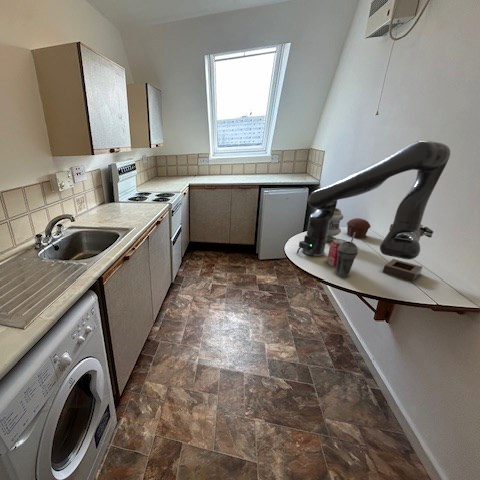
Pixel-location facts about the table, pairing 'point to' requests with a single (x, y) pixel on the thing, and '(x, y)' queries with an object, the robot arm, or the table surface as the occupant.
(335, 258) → the soda can
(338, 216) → the apothecary jar
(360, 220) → the muffin
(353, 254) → the beverage cup
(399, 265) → the frame
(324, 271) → the table surface
